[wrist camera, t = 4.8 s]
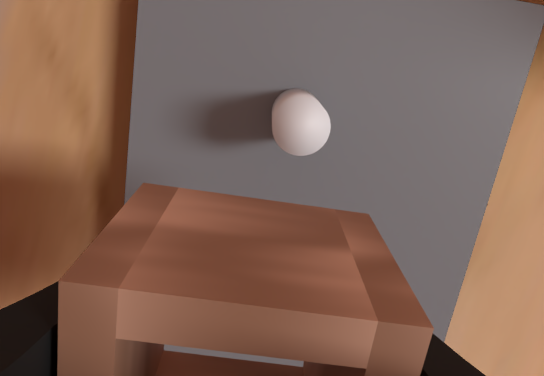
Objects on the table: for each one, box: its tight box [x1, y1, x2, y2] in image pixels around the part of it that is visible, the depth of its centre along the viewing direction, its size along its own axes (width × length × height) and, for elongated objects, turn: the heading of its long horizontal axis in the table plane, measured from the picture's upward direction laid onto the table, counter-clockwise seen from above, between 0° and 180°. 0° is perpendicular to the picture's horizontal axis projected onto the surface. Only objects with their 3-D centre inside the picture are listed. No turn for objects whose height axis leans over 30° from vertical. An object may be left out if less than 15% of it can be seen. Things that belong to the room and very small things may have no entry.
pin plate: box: [124, 0, 544, 367], centre depth 17 cm, size 14×17×4 cm
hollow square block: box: [57, 183, 434, 376], centre depth 9 cm, size 5×5×4 cm
